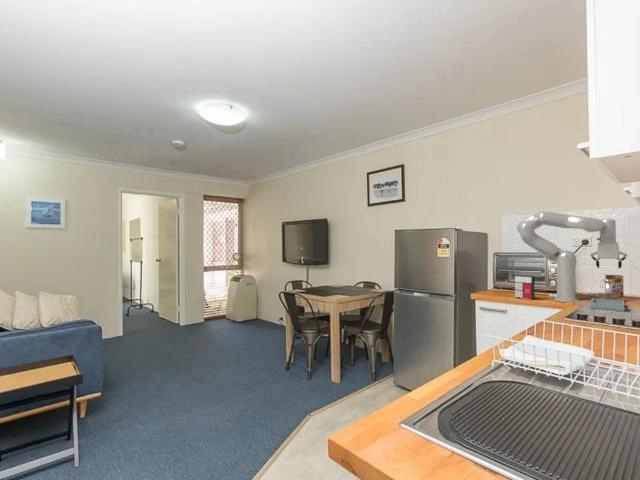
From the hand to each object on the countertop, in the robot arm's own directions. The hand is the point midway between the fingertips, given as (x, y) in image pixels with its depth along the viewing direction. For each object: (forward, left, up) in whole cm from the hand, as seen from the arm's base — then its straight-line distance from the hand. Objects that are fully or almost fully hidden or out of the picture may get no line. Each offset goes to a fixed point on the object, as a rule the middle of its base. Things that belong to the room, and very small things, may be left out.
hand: (608, 268), depth 208 cm
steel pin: (0, 0, -20) cm, 20 cm away
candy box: (+2, +24, -21) cm, 32 cm away
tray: (0, -20, -21) cm, 29 cm away
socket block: (0, 0, -21) cm, 21 cm away
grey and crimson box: (-42, -13, -21) cm, 49 cm away
